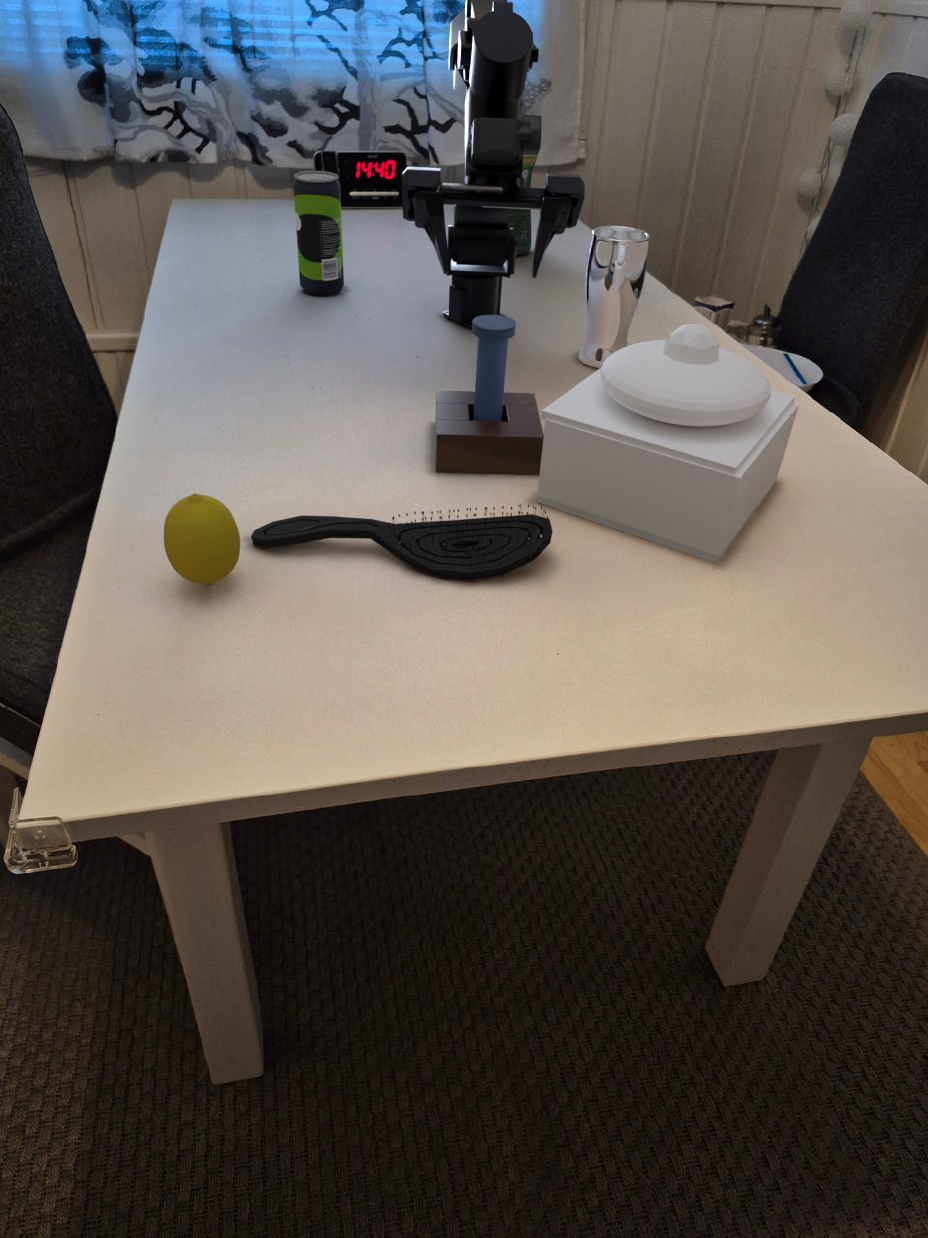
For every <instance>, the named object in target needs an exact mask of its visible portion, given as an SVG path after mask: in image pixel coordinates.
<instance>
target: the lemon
mask: <svg viewBox="0 0 928 1238" xmlns="http://www.w3.org/2000/svg"><path fill="white" fill-rule="evenodd" d="M163 547H164V551H165V554H166V557H167V559H168V562H169V563H170V565H171V567H172V568H173V570H174V572H176V573H177V574H178V575H179V576H181V578H183V579H185V580H187V581H189V582H190V583H191V582H192V583H195V584H198V585H199V584H201V585H205V586H212V585H213V584H215V583H218V582H220V581H222V580H224V579H225V578H227V577H228V576H229V575H230V574H231V573H232V572H233V570H234V569H235V567H236V565H237V564H238V561H239V558H240V554H241V553H240V552H241V536H240V530H239V527H238V526H237V523H236V520H235V518H234V515H233V514H232V512H231V511H230V509H229V508H228V507H227V506H226V505H225V504H224V503H223V502H222V501H221V500H219V499H217V498H215V497H213V496H211V495H207V494H200V493H197V492H194V493H192V494H190V495H188V496H185V497H183V498H181V499H179V500H178V501H177V502H175V503H174V504H173V506H172V507H171V508H170V509H169V510H168V513H167V514H166V517H165V520H164V524H163Z"/></svg>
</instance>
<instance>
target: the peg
mask: <svg viewBox="0 0 928 1238" xmlns="http://www.w3.org/2000/svg"><path fill="white" fill-rule="evenodd" d="M505 316H506V315H505ZM505 316H500V315H483V316H478V317H476V318H474V319H473V321H472V329H471V333H472V334H473V335H474V336H475V337H477V348H476V350H477V351H476V369H475V370H476V371H475V386H474V391H475V402H474V420H473V421H496V422H502V410H503V397H504V392H505V385H506V384H505V383H506V369H507V358H508V357H507V356H508V344H509V339H512V338H513V337H514V336H515V335H516V325H517V324H516V322H515V320H514V319H513V318H511V317H508V316H507V317H505Z"/></svg>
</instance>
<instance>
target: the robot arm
mask: <svg viewBox="0 0 928 1238" xmlns="http://www.w3.org/2000/svg"><path fill="white" fill-rule="evenodd" d="M449 28H450V29H449V44H448V71H451V72H452V71H453V91H454V93H455V95H457V96H458V98H459V99H460V101H461V103H463V105H464V182H463V183H462V182H461V183H460V182H444V181H443V182H442V181H441V172H442V171H441V170H442V169H441V167H421V166H407V167H406V168H405V170H404V171H402V174H401V202H402V203H401V205H402V218H403V219H404V220H406V221H407V222H414V226H415V227H416V228H418V229H424V231H425V233H426V235H427V236H428V238H429V240H430V242H431V244H432V246H433V248H434V250H435V253H436V257H437V259H438V262H439V264H440V268H441V270H442V272H443V275H446V276H447V277H451V284H450V285H449V291H448V293H449V294H448V310H444V311H443V313H442V316H443V317H444V318H447V319H449V320H451V321H453V322H456V323H457V324H460V325H462V326H464V327H466V328H469V329H471V330H472V321H473V319H474V318H476V317H478V316H483V315H500V316H505V317H508V316H507V315H505V314H503V313H501V304H502V303H501V302H502V292H503V291H502V290H503V278H506V279H510V278H511V276H512V275H515V271H516V270H515V269H516V259H517V255H518V254H517V249H518V239H517V238H516V237H515V233H514V228H509V208H511V209H531V210H533V211H534V210H535V211H539V219H538V223H537V227H536V234H535V241H534V249H533V255H532V263H531V278H532V279H537V276H538V274H539V270H540V267H541V264H542V261H543V259H544V257H545V253H546V251H547V249H548V247H549V245H550V244H551V242H552V240H553V238H554V237H555V235H562V234H564V233H565V231H566V229H572V228H574V227H576V226H577V225H578V221H579V218H580V214H581V211H582V207H583V205H584V201H585V195H586V194H585V190H586V187H585V185H586V184H585V181H584V180H583V178H582V177H581V175H579V174H569V173H551V172H549V173H548V172H547V173H545V174H546V175H545V178H544V184H543V188H542V187H531V188H525V187H519V178H522V173H523V155H538V156H539V152H540V150H541V146H542V132H543V131H542V130H543V129H542V126H543V125H542V122H543V121H542V115H536V114H535V115H533V114H524V115H522V119H521V107H522V106H521V105H522V104H521V103H522V102H521V101H522V99H521V98H522V96H523V94H524V92H525V89H526V82H527V76H528V73H529V72H530V71H531V70H533V66H534V63H539V54H540V53H539V52H540V49H539V47H537V45H536V44H535V42H534V41H535V40H534V32H533V31H532V29H531V26H530V24H529V23H528V21H527V20H526V19H524V17H522V16H521V15H520V14H518V13H516V12H514V2H512V1H508V0H465V6H464V7H463V8H462V10H461V11H459V13H458V14H457V15H456V16H455V17H454V18H453V19H452V20H451V22H450V27H449ZM445 205H447V206H448V205H449V206H453V218H452V224H448V225H447V226H446V219H445ZM446 227H447V229H446ZM516 254H517V255H516Z"/></svg>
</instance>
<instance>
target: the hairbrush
mask: <svg viewBox="0 0 928 1238" xmlns="http://www.w3.org/2000/svg"><path fill="white" fill-rule="evenodd" d="M517 506H518V508H519V510H518V514H515V515H513V513H512V510H513V506H511V507H510V510H511V512H510V515H508V514H509V512H506V515H504V511H502V512H501V516H495V514H496V513H495V512H493V513H492V512H490V513H489V515H490V517H489V516H488V506H484V510H485V512H484V513H483V514H484V515H483V516H485V517H477V513H473V517H474V518H468V513H466V514H465V517H466V518H463V519H459V514H457V515H456V518H457V519H453V520H452V519H450V517H451V509H448V516H447V518H448V520H443V516H442V515H440V516H439V518H438V520H433V516H430V521H427V516H425V510H423V511H421V515H422V517H421V521H417V519H416V518H414V520H413V521H414V522H413V521H412V520H410V522H403V523H401V522H399V523H394V522H391V521H389V522H388V521H384V520H383V521H382V520H378V519H375V518H374V519H373V518H364V517H350V516H349V517H347V516H335V515H306V514H305V515H304V514H303V515H297V516H296V515H295V516H293V517H287V518H282V519H279V520H274V521H271V522H269V523H266V524H265V525H262V526H260V527H258V528H256V529H254V530H253V531H252V533H251V535H250V537H251V541H252V545H253V546H254V547H255V546H256V547H260V548H266V549H273V548H280V547H281V548H282V547H287V546H293V545H294V546H295V545H301V544H306V543H311V542H317V541H322V540H328V539H361V540H363V539H367V540H368V539H369V540H372V541H373V542H374V543H376V545H379V546H380V547H381V548H383V549H385V550H386V551H387V552H389V554H391V555H393V556H395V557H396V558H398V559H399V560H400V561H402V562H403V563H405V564H406V565H407V566H409V567H411V568H412V569H413V570H415V571H418V572H421V573H424V574H427V575H429V576H433V577H435V578H438V579H441V580H449V581H461V582H462V581H464V582H474V581H479V580H480V581H481V580H485V579H491V578H498V577H503V576H505V575H507V574H510V573H511V572H513V571H515V570H518V569H519V568H521V567H524V566H526V565H528V564H530V563H532V562H534V561H535V560H537V558H538V557H539V556H540V555H541V554H542V553H543V552H544V551H545V550H546V549H547V547H548V546H549V545H551V542H552V537H553V526H552V523H551V520H550V518H549V515H546V514H547V511H546V509H545V508H543V506H541V507H540V510H541V511H540V512H541V515H538V514H536V512H537V511H536V510H537V506H535V505H532V510H534V509H535V513H531V514H529V512H530V511H529V507H530V503H529V504H527V509H528V510H527V511H526V514H524V512H523V511H521V507H522V504H521V503H520V504H518V505H517ZM504 507H505V506H504V505H502V506H501V508H502V509H504ZM492 508H493V510H495V506H493V507H492ZM471 510H472V508H471V507H467V508H466V511H469V512H471ZM477 510H478V508H477V507H475V511H477ZM542 511H543V512H544V516H543V515H542V514H543V512H542ZM452 512H453V513H455V512H456V510H455V509H453V511H452ZM457 512H458V513H459V512H460V509H459V508H458V509H457ZM430 513H431V515H433V514H434V512H433V511H430ZM436 513H437V514H439V513H440V514H442V510H437V511H436ZM408 514H409V513H408V512H406V513H405V516H406V517H408V516H409V515H408ZM413 514H414V515H417V512H416V511H414V513H413ZM492 515H493V516H492ZM397 516H398V517H399V518H400V517H401V515H400V513H399V514H398V515H397ZM391 519H392V521H394V520H395V515H394V516H392V517H391Z"/></svg>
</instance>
